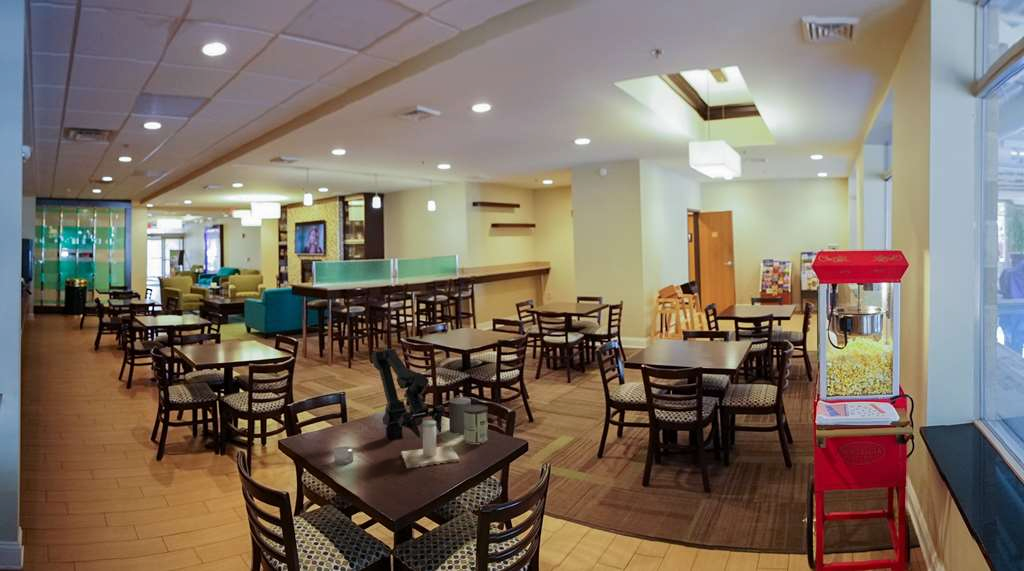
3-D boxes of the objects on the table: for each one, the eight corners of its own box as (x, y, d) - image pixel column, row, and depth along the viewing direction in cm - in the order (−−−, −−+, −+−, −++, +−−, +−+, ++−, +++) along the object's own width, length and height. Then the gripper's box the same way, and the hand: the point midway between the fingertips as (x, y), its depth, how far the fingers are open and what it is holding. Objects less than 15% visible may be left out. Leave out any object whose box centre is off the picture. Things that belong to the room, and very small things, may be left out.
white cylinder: (429, 451, 227) (429, 419, 226) (439, 454, 224) (439, 421, 223) (419, 455, 223) (419, 422, 222) (429, 458, 220) (429, 425, 219)
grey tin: (352, 457, 224) (352, 445, 224) (353, 464, 218) (353, 451, 217) (334, 460, 222) (333, 447, 222) (334, 466, 215) (334, 453, 215)
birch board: (450, 448, 234) (450, 445, 234) (459, 461, 219) (459, 458, 219) (401, 454, 227) (401, 451, 227) (406, 468, 213) (406, 465, 213)
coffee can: (471, 435, 249) (470, 403, 248) (492, 438, 245) (491, 406, 244) (459, 442, 240) (458, 409, 239) (480, 446, 236) (480, 412, 235)
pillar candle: (445, 429, 257) (444, 397, 256) (463, 425, 263) (463, 393, 261) (456, 435, 249) (456, 402, 248) (475, 430, 255) (475, 398, 254)
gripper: (429, 407, 241) (443, 439, 233) (388, 415, 229) (401, 450, 222) (438, 392, 234) (453, 425, 226) (397, 400, 223) (410, 435, 215)
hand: (430, 434), depth 222 cm, fingers open, 9 cm apart
